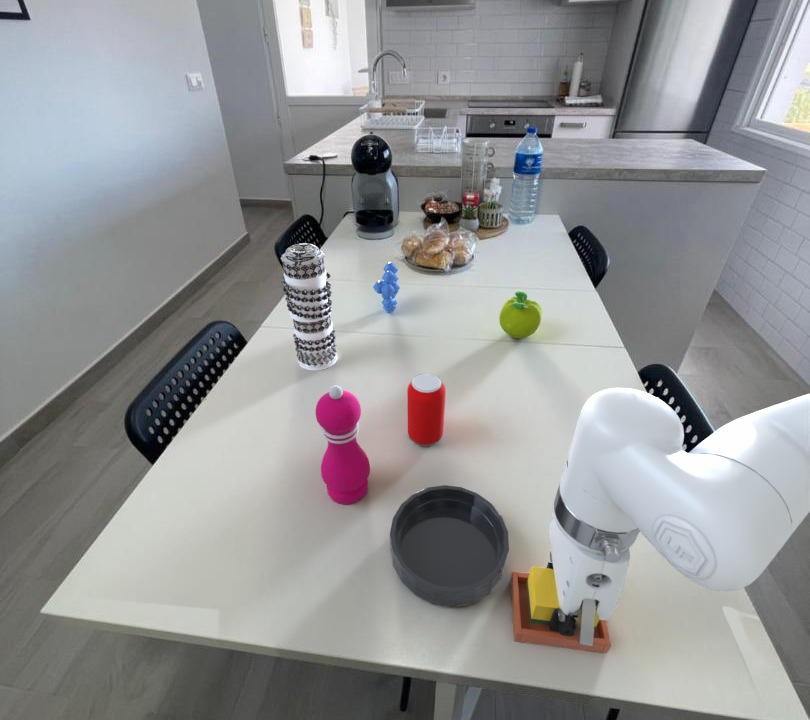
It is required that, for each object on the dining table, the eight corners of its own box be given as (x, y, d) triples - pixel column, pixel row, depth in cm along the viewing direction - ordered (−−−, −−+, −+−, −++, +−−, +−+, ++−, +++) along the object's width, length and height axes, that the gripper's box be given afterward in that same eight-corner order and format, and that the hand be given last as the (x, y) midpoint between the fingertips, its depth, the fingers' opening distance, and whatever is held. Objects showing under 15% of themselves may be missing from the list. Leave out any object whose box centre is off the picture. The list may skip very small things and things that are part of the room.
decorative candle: (302, 346, 101) (284, 238, 86) (343, 347, 100) (331, 239, 85) (290, 370, 93) (268, 257, 79) (334, 372, 92) (320, 258, 78)
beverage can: (409, 450, 75) (409, 395, 68) (406, 424, 80) (405, 371, 73) (445, 447, 75) (448, 393, 68) (440, 422, 80) (442, 369, 73)
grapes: (377, 297, 119) (375, 254, 112) (402, 298, 119) (401, 255, 112) (370, 319, 110) (368, 274, 103) (398, 320, 110) (397, 275, 103)
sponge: (585, 591, 54) (593, 573, 51) (594, 631, 50) (602, 613, 48) (526, 584, 54) (531, 566, 52) (530, 623, 51) (535, 605, 48)
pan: (529, 573, 57) (534, 555, 55) (427, 632, 52) (427, 616, 49) (463, 488, 68) (465, 470, 66) (372, 529, 63) (371, 512, 60)
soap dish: (593, 589, 56) (597, 581, 55) (606, 653, 50) (611, 645, 49) (510, 579, 57) (512, 571, 56) (514, 641, 51) (516, 633, 50)
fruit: (493, 342, 101) (498, 303, 96) (501, 322, 108) (506, 284, 103) (534, 349, 99) (542, 310, 93) (540, 329, 106) (547, 291, 100)
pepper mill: (365, 464, 72) (356, 365, 61) (376, 500, 67) (369, 398, 55) (320, 475, 71) (303, 375, 59) (328, 513, 65) (310, 411, 53)
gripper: (672, 607, 34) (610, 696, 45) (616, 445, 48) (579, 543, 58) (571, 595, 35) (534, 685, 46) (544, 439, 49) (520, 537, 59)
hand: (559, 605), depth 52 cm, fingers closed on sponge, 4 cm apart
